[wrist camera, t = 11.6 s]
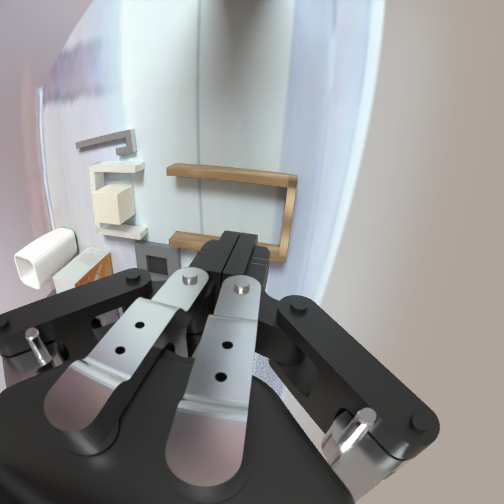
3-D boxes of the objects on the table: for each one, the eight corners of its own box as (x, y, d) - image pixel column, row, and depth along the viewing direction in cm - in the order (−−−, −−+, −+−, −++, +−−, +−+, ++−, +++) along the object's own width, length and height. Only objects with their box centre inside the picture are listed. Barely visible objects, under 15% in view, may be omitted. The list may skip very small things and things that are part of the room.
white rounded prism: (77, 226, 54) (32, 259, 41) (82, 255, 58) (41, 292, 45) (56, 222, 55) (12, 252, 42) (61, 250, 58) (21, 283, 45)
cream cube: (109, 183, 48) (92, 192, 44) (133, 184, 48) (117, 194, 43) (112, 210, 51) (96, 221, 46) (135, 213, 50) (120, 225, 46)
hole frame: (137, 240, 53) (134, 242, 52) (179, 246, 52) (177, 249, 51) (142, 278, 57) (139, 282, 56) (181, 286, 56) (179, 290, 55)
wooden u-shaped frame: (175, 163, 45) (166, 168, 42) (297, 175, 43) (297, 180, 40) (176, 237, 51) (169, 245, 48) (286, 253, 49) (285, 263, 46)
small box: (115, 282, 59) (83, 318, 48) (93, 276, 60) (61, 309, 48) (110, 250, 55) (74, 284, 44) (88, 245, 56) (51, 276, 44)
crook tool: (79, 141, 45) (75, 142, 44) (134, 128, 43) (130, 129, 42) (82, 161, 47) (78, 162, 46) (136, 151, 45) (133, 152, 43)
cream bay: (98, 161, 46) (88, 165, 44) (144, 162, 45) (135, 165, 43) (105, 227, 53) (96, 233, 50) (147, 233, 52) (140, 239, 49)
